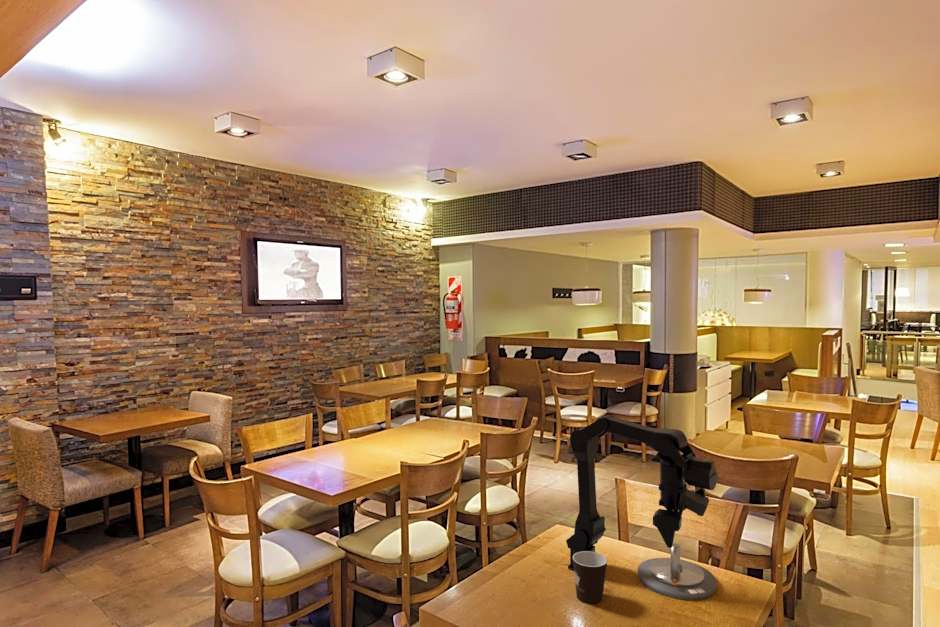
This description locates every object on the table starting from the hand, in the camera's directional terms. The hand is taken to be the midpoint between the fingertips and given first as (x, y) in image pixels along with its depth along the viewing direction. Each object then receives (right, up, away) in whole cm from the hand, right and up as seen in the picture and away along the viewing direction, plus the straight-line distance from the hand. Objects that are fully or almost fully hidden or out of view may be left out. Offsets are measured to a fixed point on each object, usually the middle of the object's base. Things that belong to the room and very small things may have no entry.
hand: (673, 538), depth 143 cm
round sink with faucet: (+4, -13, +7) cm, 15 cm away
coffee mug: (-21, -15, +1) cm, 26 cm away
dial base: (+4, -15, +8) cm, 17 cm away
